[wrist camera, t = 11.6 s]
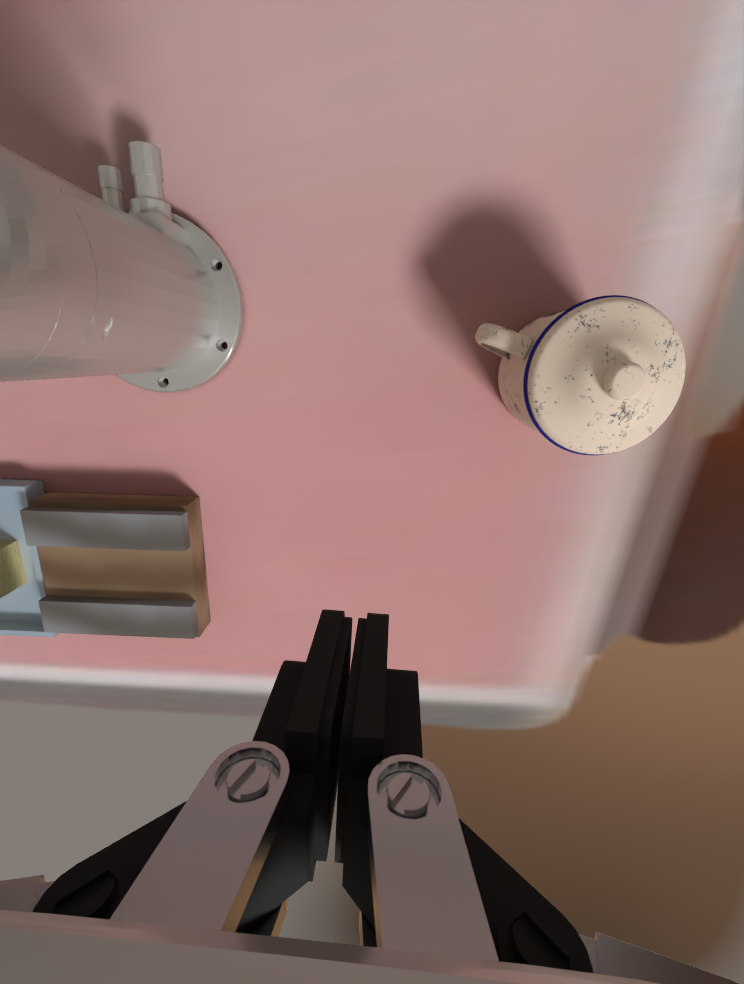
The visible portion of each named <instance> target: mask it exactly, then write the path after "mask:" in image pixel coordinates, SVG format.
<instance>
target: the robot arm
mask: <svg viewBox="0 0 744 984" xmlns="http://www.w3.org/2000/svg"><path fill="white" fill-rule="evenodd" d="M128 151H129V160H130V169H131V176H132V177H133V182H134V191H135V198H132V199H131V200H130V209H131V210H126V209H124V201H123V193H124V192H123V183H122V174H121V170H120V169H118V168H116V167H113V166H109V165H98V166H97V170H98V178H99V186H100V189H101V193H102V200H101V199H100V198H98V197H96V196H94V195H92V194H90V193H89V192H87V191H85V190H83V189H81V188H79V187H78V186H76V185H74V184H72V183H70V182H68V181H66V180H65V179H63V178H61V177H59V176H57V175H55V174H54V173H52V172H50V171H48V170H46V169H44V168H42V167H41V166H39V165H37V164H35V163H33V162H31V161H30V160H28V159H26V158H24V157H22V156H20V155H19V154H17V153H15V152H13V151H11V150H9V149H8V148H6V147H4V146H2V145H0V382H4V381H24V380H40V379H56V378H72V377H88V376H104V375H116V376H117V377H119V378H121V379H123V380H124V381H126V382H128V383H129V384H131V385H134V386H137V387H140V388H142V389H145V390H150V391H156V392H179V391H185V390H189V389H192V388H195V387H198V386H201V385H203V384H204V383H206V382H208V381H209V380H211V379H213V378H214V377H215V376H216V375H217V374H218V373H219V372H220V371H222V370H223V369H224V368H225V366H226V365H227V364H228V362H229V361H230V359H231V358H232V356H233V355H234V353H235V350H236V348H237V346H238V343H239V341H240V337H241V332H242V328H243V315H244V306H243V299H242V292H241V288H240V285H239V282H238V279H237V276H236V273H235V271H234V269H233V267H232V265H231V263H230V261H229V259H228V257H227V256H226V255H225V253H224V252H223V251H222V249H221V248H220V247H219V246H218V244H217V243H216V242H215V241H214V240H213V239H212V238H211V237H210V236H209V235H207V234H206V233H205V232H204V231H203V230H202V229H200V228H199V227H197V226H196V225H194V224H193V223H192V222H190V221H188V220H186V219H184V218H182V217H180V216H178V215H176V214H173V213H171V206H170V205H169V204H168V203H166V202H164V193H163V169H162V158H161V149H160V148H159V147H158V146H156V145H153V144H151V143H147V142H143V141H133V142H129V144H128ZM220 263H222V269H221V270H218V264H220ZM225 342H226V343H227V345H228V347H227V349H224V348H223V344H224V343H225ZM166 379H168V381H169V384H167V383H166ZM388 625H389V615H388V614H375V613H368V614H367V619H364V618H359V619H358V625H357V632H356V638H355V644H354V651H353V657H352V663H351V670H350V657H351V636H352V618H351V617H345V614H344V611H336V610H322V613H321V616H320V619H319V622H318V625H317V629H316V632H315V635H314V638H313V642H312V645H311V648H310V651H309V654H308V658H307V661H306V662H299V661H287V660H285V661H284V662H283V664H282V666H281V668H280V671H279V674H278V676H277V679H276V681H275V684H274V687H273V689H272V692H271V694H270V697H269V699H268V702H267V705H266V707H265V710H264V712H263V715H262V717H261V720H260V723H259V725H258V728H257V731H256V733H255V736H254V738H253V741H251V742H244V743H240V744H238V745H235V746H233V747H230V748H229V749H227V750H226V751H224V752H223V753H221V754H220V755H219V756H218V757H217V758H216V759H215V760H214V762H213V763H212V764H211V765H210V767H209V769H208V770H207V771H206V773H205V775H204V776H203V777H202V779H201V781H200V782H199V784H198V785H197V787H196V788H195V790H194V791H193V793H192V794H191V796H190V797H189V799H188V800H187V801H186V802H184V803H182V804H181V805H179V806H177V807H175V808H174V809H172V810H170V811H169V812H167V813H165V814H163V815H162V816H160V817H158V818H156V819H155V820H153V821H151V822H150V823H148V824H146V825H144V826H142V827H141V828H139V829H137V830H136V831H134V832H132V833H130V834H129V835H127V836H125V837H123V838H122V839H120V840H118V841H116V842H115V843H113V844H112V845H110V846H108V847H106V848H104V849H103V850H101V851H99V852H97V853H96V854H94V855H92V856H90V857H89V858H87V859H86V860H84V861H82V862H80V863H78V864H77V865H75V866H74V867H72V868H71V869H70V870H68V871H67V872H66V873H64V874H62V875H61V876H60V877H59V878H58V879H57V880H56V881H53V882H45V877H44V875H39V876H32V877H25V878H19V879H11V880H4V881H0V984H738V983H736V982H734V981H732V980H730V979H727V978H724V977H721V976H718V975H716V974H713V973H710V972H707V971H704V970H701V969H699V968H696V967H693V966H690V965H688V964H685V963H682V962H679V961H676V960H674V959H670V958H668V957H665V956H662V955H660V954H657V953H654V952H651V951H649V950H646V949H643V948H640V947H637V946H635V945H632V944H629V943H626V942H623V941H621V940H618V939H615V938H612V937H609V936H606V935H604V934H601V933H598V932H596V936H595V939H591V938H588V937H586V936H583V935H580V934H578V933H577V931H576V929H575V928H574V927H573V926H572V925H571V924H570V922H569V921H568V920H567V919H566V918H565V917H564V916H563V914H562V913H560V912H559V911H558V910H557V909H556V908H555V907H554V906H553V905H552V904H550V902H549V901H548V900H546V899H545V898H544V897H543V896H542V895H541V894H540V893H539V892H538V891H537V890H536V889H535V888H534V887H532V886H531V885H530V884H529V883H528V882H527V881H526V880H525V879H524V878H523V877H522V876H521V875H519V874H518V873H517V872H516V871H515V870H514V869H513V868H512V867H511V866H510V865H509V864H508V863H506V862H505V861H504V860H503V859H502V858H501V857H500V856H499V855H498V854H497V853H496V852H495V851H494V850H493V849H491V848H490V847H489V846H488V845H487V844H486V843H485V842H484V841H483V840H482V839H481V838H480V837H478V836H477V835H476V834H475V833H474V832H473V831H472V830H471V829H470V828H469V827H468V826H467V825H465V824H464V823H463V822H462V821H461V820H460V819H459V818H458V815H457V812H456V808H455V805H454V802H453V798H452V795H451V791H450V787H449V785H448V783H447V780H446V778H445V776H444V775H443V774H442V773H441V771H440V770H439V769H438V768H437V767H436V766H435V765H433V764H432V763H430V762H429V761H427V760H426V759H423V755H422V737H421V720H420V703H419V686H418V673H417V671H408V670H396V669H387V649H388ZM337 785H338V797H337V821H336V844H335V862H337V863H343V864H344V865H343V883H342V886H343V887H344V888H345V890H346V891H347V893H348V894H349V895H350V897H351V898H352V899H353V901H354V902H355V904H356V905H357V906H358V908H359V909H360V917H359V928H360V946H358V945H348V944H339V943H329V942H320V941H311V940H302V939H293V938H282V937H279V935H280V931H281V929H282V925H283V922H284V920H285V917H286V913H287V908H288V903H289V897H290V896H291V895H292V894H294V893H295V892H296V891H297V890H298V889H300V888H301V887H302V886H303V885H304V884H306V883H307V881H313V876H314V870H315V864H316V860H317V861H326V859H327V854H328V847H329V840H330V833H331V827H332V819H333V813H334V806H335V799H336V792H337Z"/></svg>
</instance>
